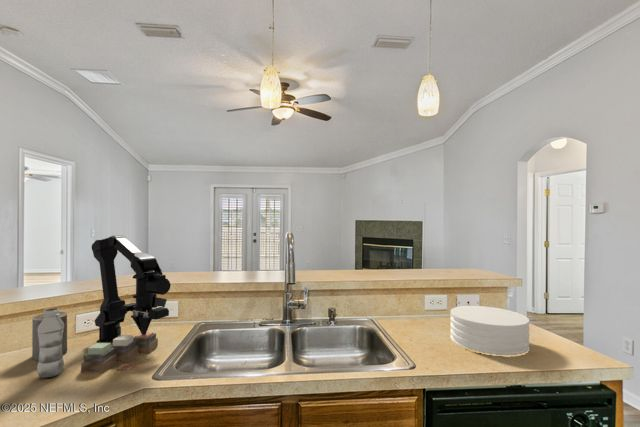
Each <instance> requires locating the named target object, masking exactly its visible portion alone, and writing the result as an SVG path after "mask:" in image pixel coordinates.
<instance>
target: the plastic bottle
mask: <svg viewBox="0 0 640 427" xmlns="http://www.w3.org/2000/svg"><path fill="white" fill-rule="evenodd" d="M59 312H60V308H59V307H58V308H57V307H54V308H53V307H52V308H46V309H44V310H43V314H44V315H43V317H45V318H44V320H43V321H42V322H41V323H40V325H39V326H38V329H37V331H38V337H39V346H40V353H39V360H38V363H37V367H36V373H37V376H38V377H39V378H42V379H49V378H52V377H55V376H58V375H60V374H61V373H63V370H64V369H65V368H64V367H65V361H64V357H63V355H62V337H63V331H64V323H63V321H62V320H61V319H60V318H59V317H58V315H59Z"/></svg>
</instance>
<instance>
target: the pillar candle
mask: <svg viewBox="0 0 640 427" xmlns="http://www.w3.org/2000/svg"><path fill="white" fill-rule="evenodd" d="M43 315H44V313H41V314H38V315H34V316H33V317H32V322H31V323H32V327H31V328H32V330H31V331H32V334H31V337H32V339H31V340H32V342H31V344H32V348H31V349H32V353H31V355H32V359H33V360H34V361H39V353H40V346H39V337H38V331H37V329H38V326H39V325H40V323H41V322H42V321H43V320H44V318H45V317H43ZM58 317H59V318H60V319H61V320H62V321H63V323H64V331H63V337H62V355H65V354H67V352H68V313H67V312H65V311H59V315H58Z"/></svg>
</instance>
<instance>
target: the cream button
mask: <svg viewBox="0 0 640 427" xmlns="http://www.w3.org/2000/svg"><path fill="white" fill-rule="evenodd" d="M133 337H134V335H133V334H131V335H130V334H129V335H127V334H125V335H124V334H121V335H120V336H118V337H117V338H115V339H113V342H112V344H113V346H128V345H129V344H131V343H132V342H133Z"/></svg>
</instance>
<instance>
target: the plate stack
mask: <svg viewBox="0 0 640 427" xmlns="http://www.w3.org/2000/svg"><path fill="white" fill-rule="evenodd" d="M449 324H450V329H449V330H450V336H449V339H450V338H451V340H452V341H453V342H455V343H456V344H458V345H460V346H462V347H465V348H468V349H471V350H475V351H479V352H483V353H489V354H496V355H517V354H522V353H525V352H527V351H528V350H529V351H530V319H529V317H527V316H526V315H524V314H522V313H520V312H516V311H513V310H509V309H505V308H499V307H493V306H484V305H462V306H455V307H452V308H451V309H450V323H449ZM451 340H450V341H451Z"/></svg>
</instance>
